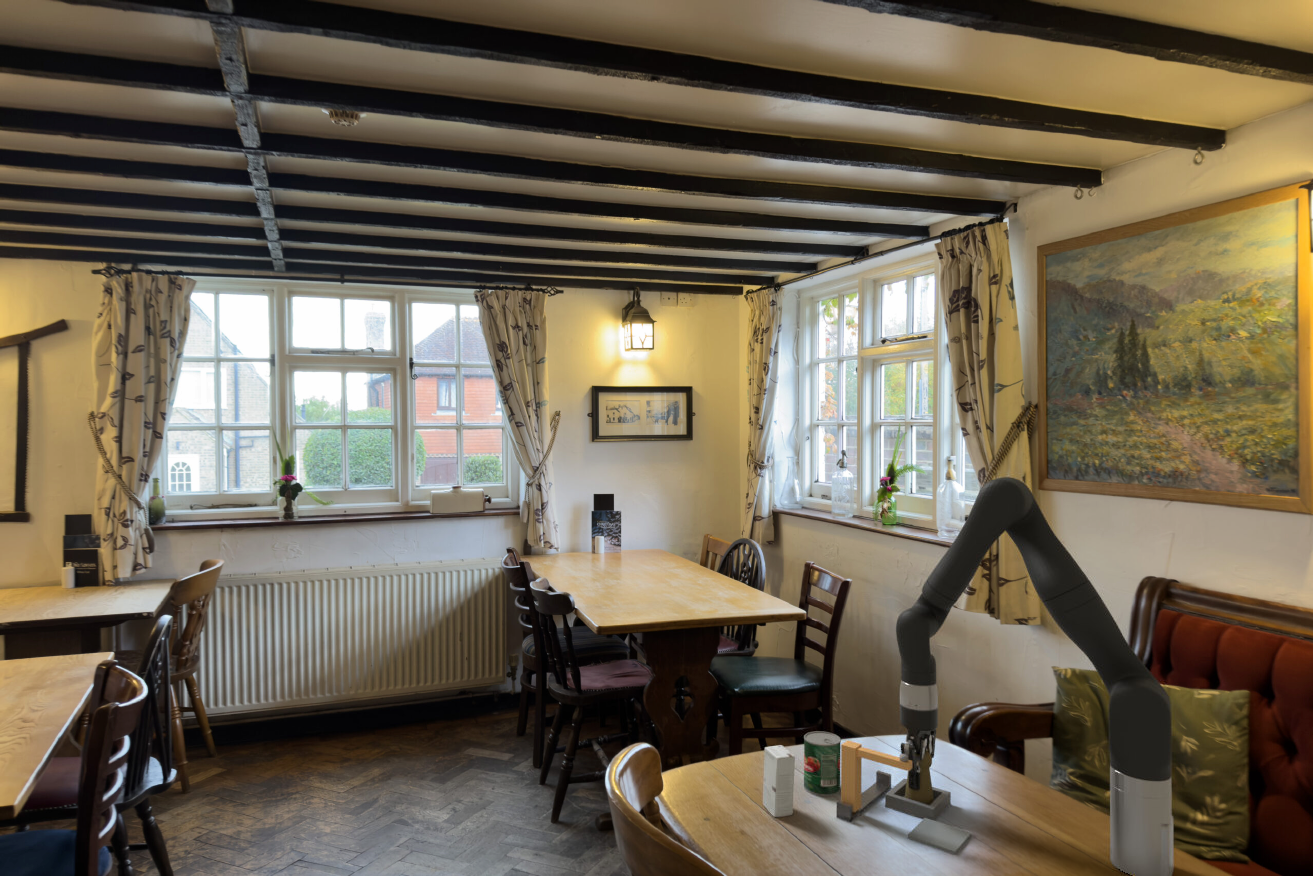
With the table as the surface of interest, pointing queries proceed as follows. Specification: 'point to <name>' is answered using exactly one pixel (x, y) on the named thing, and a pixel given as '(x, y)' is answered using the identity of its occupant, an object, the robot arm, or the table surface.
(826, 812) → the table surface
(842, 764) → the orange angled bracket
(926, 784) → the cork
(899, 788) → the socket
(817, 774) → the canned tomato
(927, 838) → the coaster
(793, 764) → the skincare box
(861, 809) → the rail
